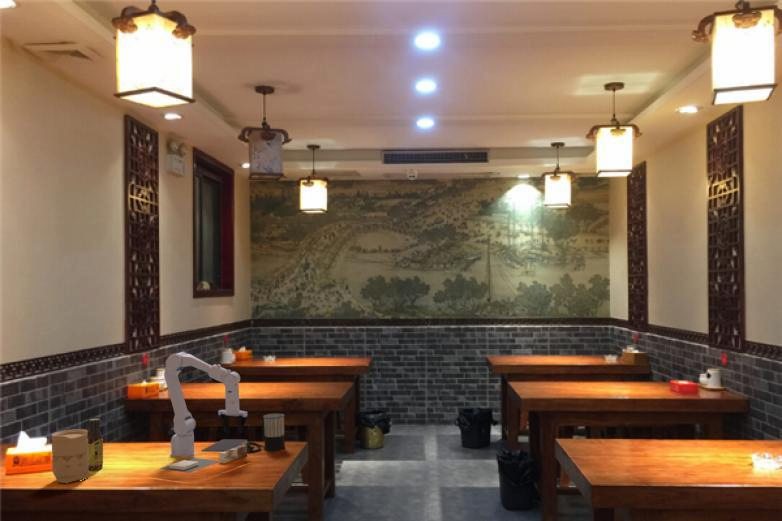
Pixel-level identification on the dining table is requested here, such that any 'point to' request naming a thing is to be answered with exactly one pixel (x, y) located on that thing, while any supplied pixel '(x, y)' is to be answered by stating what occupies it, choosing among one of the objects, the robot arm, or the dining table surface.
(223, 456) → the long wooden beam
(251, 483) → the dining table surface
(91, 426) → the sauce bottle
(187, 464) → the tile
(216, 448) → the notebook
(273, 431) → the milk frother
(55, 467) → the container
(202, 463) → the slate mat
